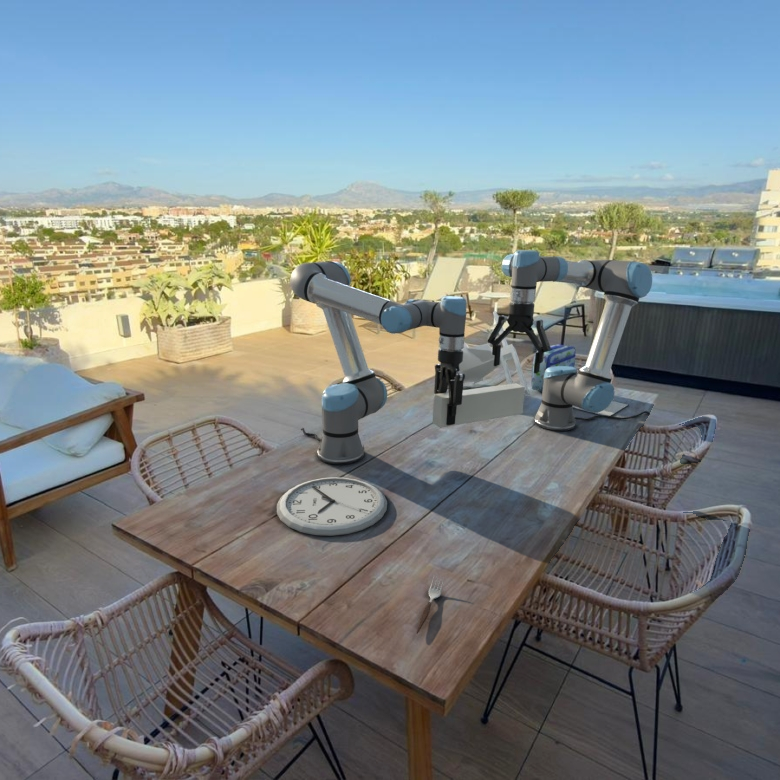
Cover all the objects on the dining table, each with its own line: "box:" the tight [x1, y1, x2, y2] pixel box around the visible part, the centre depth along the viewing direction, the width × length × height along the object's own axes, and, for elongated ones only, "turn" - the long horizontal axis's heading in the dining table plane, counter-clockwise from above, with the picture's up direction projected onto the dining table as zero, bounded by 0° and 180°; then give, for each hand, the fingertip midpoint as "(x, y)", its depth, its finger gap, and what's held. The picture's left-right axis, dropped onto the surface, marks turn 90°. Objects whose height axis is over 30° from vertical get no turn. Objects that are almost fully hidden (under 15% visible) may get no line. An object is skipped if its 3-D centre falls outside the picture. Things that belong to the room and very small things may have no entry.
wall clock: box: [276, 476, 388, 537], centre depth 142 cm, size 30×2×30 cm
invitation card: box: [573, 400, 629, 416], centre depth 226 cm, size 21×1×15 cm
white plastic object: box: [450, 310, 531, 397], centre depth 245 cm, size 37×45×31 cm
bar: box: [432, 382, 525, 429], centre depth 168 cm, size 32×5×10 cm, turn 116°
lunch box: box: [530, 344, 577, 392], centre depth 247 cm, size 26×11×21 cm, turn 134°
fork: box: [416, 574, 445, 635], centre depth 104 cm, size 3×16×2 cm, turn 160°
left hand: (445, 421), depth 164 cm, fingers closed on bar, 5 cm apart
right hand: (515, 368), depth 167 cm, fingers open, 13 cm apart
